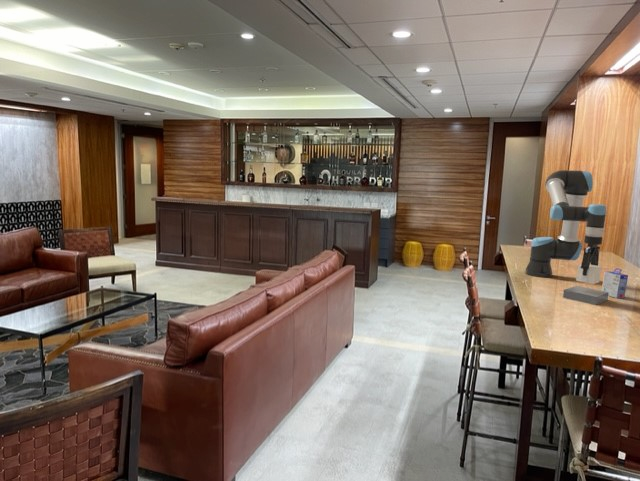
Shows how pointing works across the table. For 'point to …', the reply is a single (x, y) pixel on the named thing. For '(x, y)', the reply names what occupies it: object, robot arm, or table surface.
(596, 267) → the cream cube
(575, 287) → the charcoal riser
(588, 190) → the robot arm
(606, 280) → the ink cartridge box
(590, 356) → the table surface
